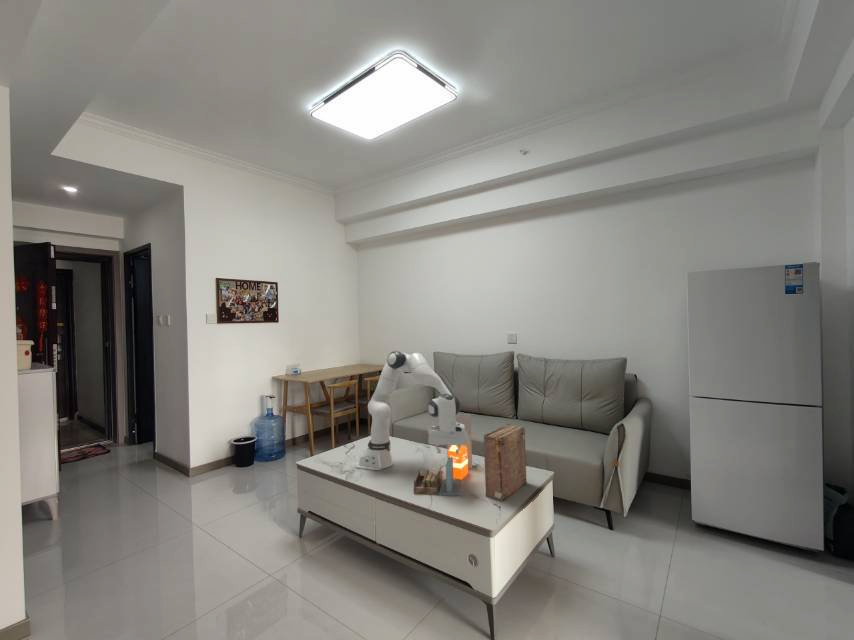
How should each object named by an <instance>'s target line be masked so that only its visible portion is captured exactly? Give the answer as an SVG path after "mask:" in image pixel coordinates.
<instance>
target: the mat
mask: <svg viewBox="0 0 854 640" xmlns="http://www.w3.org/2000/svg"><path fill="white" fill-rule="evenodd" d="M461 485H462V479H456V478H454V483H453V488H452V492H447V483H446V478H443V479H442V480H441V483H440V487H439V491H438V496H440V495H441V496H442V497H443V496H444V497H459V496H460V493H461Z"/></svg>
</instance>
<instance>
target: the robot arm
mask: <svg viewBox="0 0 854 640" xmlns="http://www.w3.org/2000/svg"><path fill="white" fill-rule="evenodd" d="M386 361H387V362H385V364H384V366H383V368H382V369H381V370H382V371H381V373H380V376H379V378H378V382H377V384H376V385H377V386H376V388H375V391H374V392H373V394H372V396H371V398H370V401H368V404H367V410H368V413H369V414H370V415H371V417H372V419H371V427H370V440H368V441H369V442H368V443H367V448H366V449H365V450H363V451H362V453H361V454H360V455H359V460H357V462H356V463H355V468H356V469H362V470H371V471H380V470H383V469H387V468H389V467H391V466H393V465H394V462H393V459H392V454H391V448H392V447H391V440H390V423H391V422H390V421H391V416H392V409H391V407H390V405H389V404H388V403H389V401H390V400H391V398H392V396H394V394H395V390H396V387H397V384H398V381H399V376H400V375H401V374H402V373H403V374H411V376H412V378H413V380H414V381H415V382H416V383H417V384H418V385H421V386H426V387H427V386H428V387H432V388H435V389H436V390H437V391H438V392H439V393H440V395H439V396H438V397H437V398H433V399H431V400H429V401H428V403H427V413H428V414H429V416H431V417H433V418H438V419H439V420H438V425H436V426H435V425H430V426H429V427H428V428H427V434H428V441H427V442H428V444H429V445H431V446H435V449H436V450H437V454H441V453H442V449H441V448H439V446H447V445H458V447H459V448H458V449H456V454H459V450H460V448H461V445H462V446H466V445H467V444H468V438H467V433H466V431H465V425H464V424H461V423H458V422H456V418H455V415H456V414H458V413H460V411H461V409H462V408H461V405H462V404H461V401H460V400H459V397H457V396H456V395H455V394H454V392H453V391H452V390H451V389H450V388H449V386H448V385H447V383H446V382H445V380H444V379H443V378H442V376H440V374H437V373H436V372H435V371H434V370H433V369H432V368H431V367H430V365H429V363H428V361H427V359H425V357H424V356H423V355H422V354H421V353H420V352H414V353H412V354H409V353H407V352H402V351H398V350H396V351H395V350H394V351H391V352H390V353H389V354H388V356H387V359H386Z"/></svg>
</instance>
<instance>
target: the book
mask: <svg viewBox="0 0 854 640" xmlns="http://www.w3.org/2000/svg"><path fill="white" fill-rule="evenodd" d="M525 432H526V431H525V426H515V425H512V424H511V425H510V423H507V424H505V425H503V426H501V427H498V428H497V429H494V430H492V431H491V432H487V433H486V434H484V435H483V451H484V477H485V478H484V479H485V480H484V481H485V483H484V484H485V496H486V497H488V498H490V499H491V498H492V499H495V500H497V501H500V502H503V501H505V500H506V499H508V498H509V497H511V496H512V495H513V494H515V492H517V491H518V490H519V489H521V488H522V487H523V486H525V485H526V484H527V463H526V462H527V458H526V457H527V456H526V455H527V454H526V433H525Z"/></svg>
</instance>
